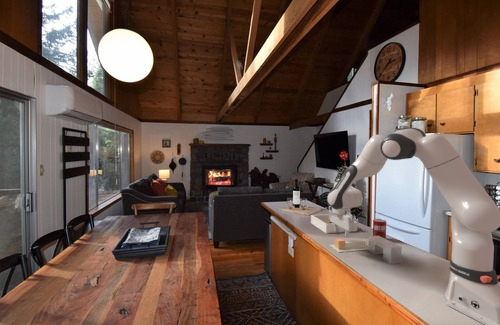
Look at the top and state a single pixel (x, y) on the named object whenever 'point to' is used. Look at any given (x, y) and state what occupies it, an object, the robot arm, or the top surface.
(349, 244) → the plug
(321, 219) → the white shallow square tray
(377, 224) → the soda can
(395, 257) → the notched metal block
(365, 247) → the pad
